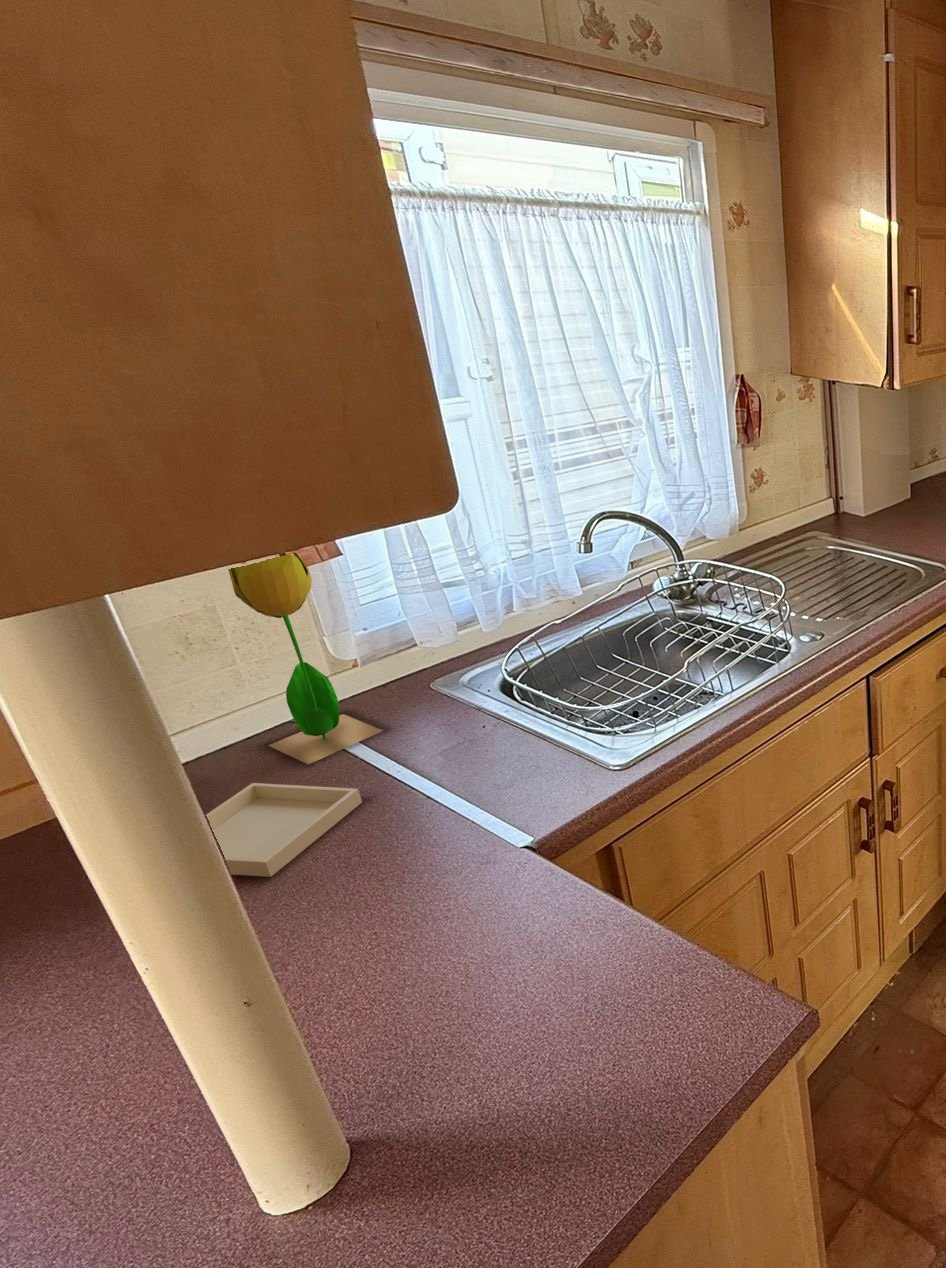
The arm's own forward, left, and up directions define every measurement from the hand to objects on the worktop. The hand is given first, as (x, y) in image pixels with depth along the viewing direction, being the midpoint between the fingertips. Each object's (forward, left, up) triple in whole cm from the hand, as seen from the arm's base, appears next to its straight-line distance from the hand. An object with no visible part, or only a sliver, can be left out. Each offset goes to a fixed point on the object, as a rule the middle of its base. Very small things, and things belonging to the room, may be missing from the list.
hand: (26, 589), depth 88 cm
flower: (+1, +26, -35) cm, 43 cm away
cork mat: (+1, +26, -35) cm, 44 cm away
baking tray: (+10, +5, -35) cm, 37 cm away
